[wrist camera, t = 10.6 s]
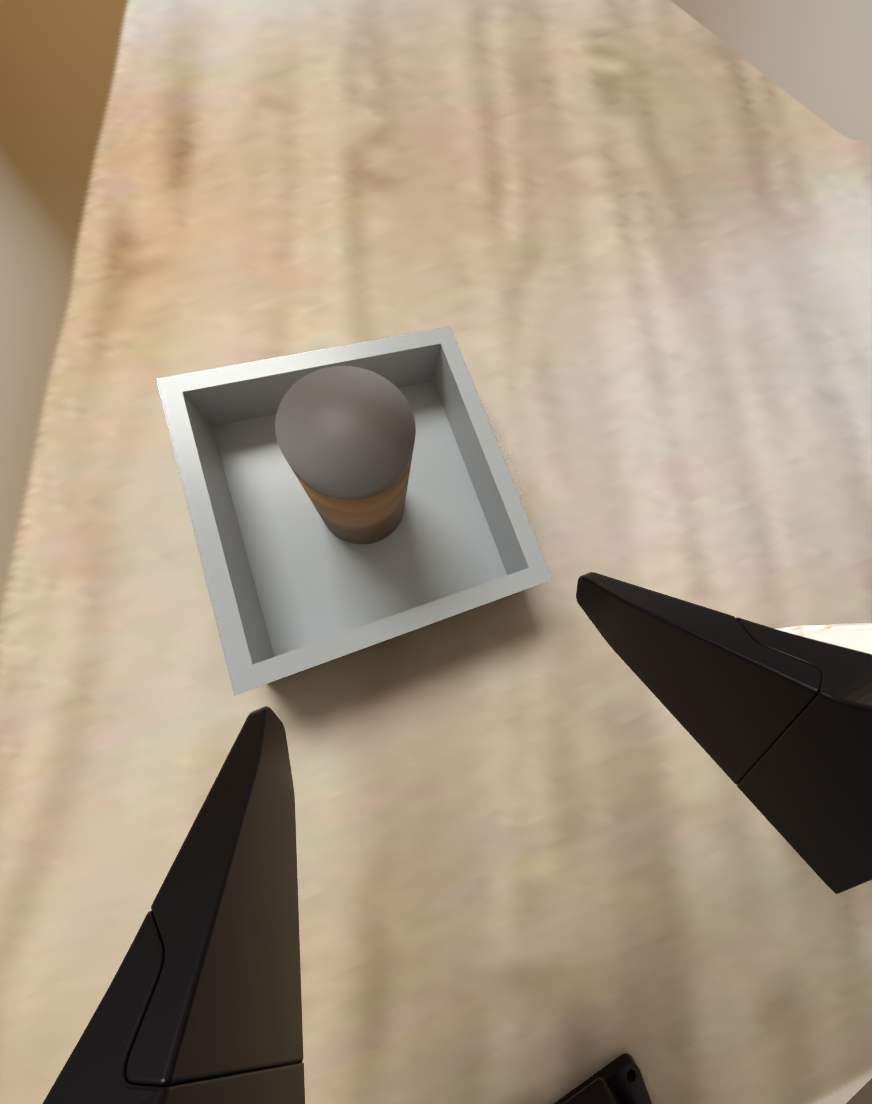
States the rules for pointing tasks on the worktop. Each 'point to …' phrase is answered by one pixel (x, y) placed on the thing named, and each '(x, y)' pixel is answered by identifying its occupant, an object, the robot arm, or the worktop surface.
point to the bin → (300, 533)
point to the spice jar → (349, 449)
